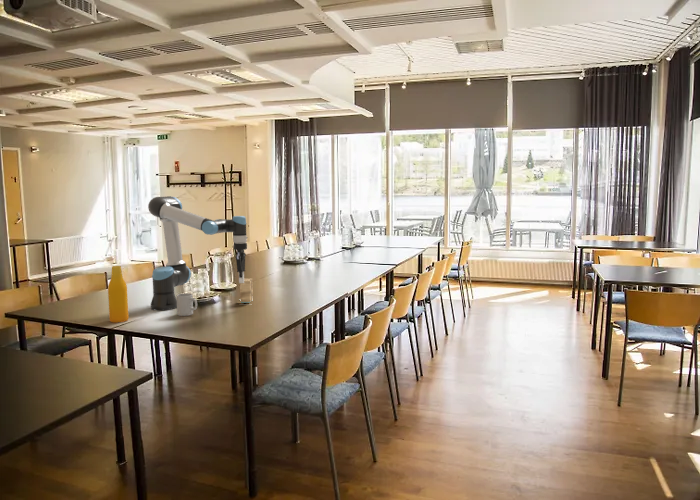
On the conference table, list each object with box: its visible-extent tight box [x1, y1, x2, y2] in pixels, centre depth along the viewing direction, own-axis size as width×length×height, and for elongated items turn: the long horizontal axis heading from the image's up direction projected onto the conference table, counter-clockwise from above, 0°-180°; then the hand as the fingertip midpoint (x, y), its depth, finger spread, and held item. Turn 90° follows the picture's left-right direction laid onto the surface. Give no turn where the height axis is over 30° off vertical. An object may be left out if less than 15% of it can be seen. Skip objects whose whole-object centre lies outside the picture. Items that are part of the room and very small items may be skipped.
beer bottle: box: [107, 265, 130, 324], centre depth 272 cm, size 9×9×29 cm
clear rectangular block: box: [239, 278, 254, 303], centre depth 314 cm, size 6×6×14 cm
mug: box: [176, 292, 198, 317], centre depth 287 cm, size 12×8×11 cm
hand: (241, 282), depth 302 cm, fingers closed
